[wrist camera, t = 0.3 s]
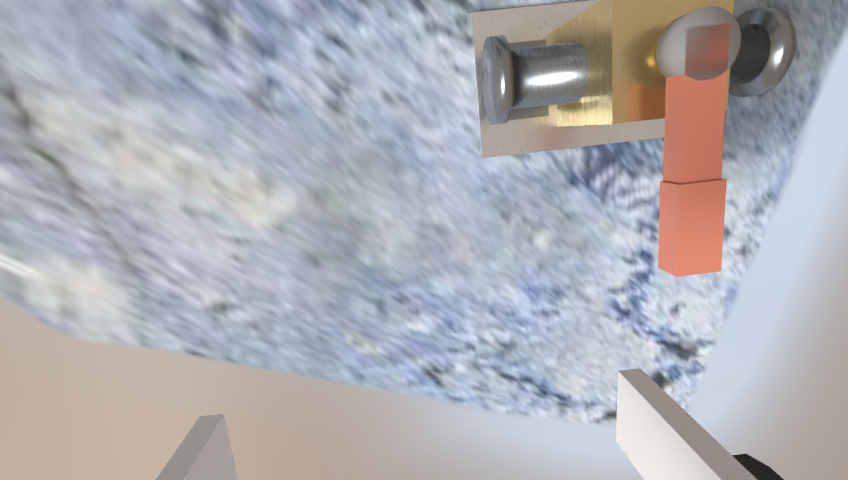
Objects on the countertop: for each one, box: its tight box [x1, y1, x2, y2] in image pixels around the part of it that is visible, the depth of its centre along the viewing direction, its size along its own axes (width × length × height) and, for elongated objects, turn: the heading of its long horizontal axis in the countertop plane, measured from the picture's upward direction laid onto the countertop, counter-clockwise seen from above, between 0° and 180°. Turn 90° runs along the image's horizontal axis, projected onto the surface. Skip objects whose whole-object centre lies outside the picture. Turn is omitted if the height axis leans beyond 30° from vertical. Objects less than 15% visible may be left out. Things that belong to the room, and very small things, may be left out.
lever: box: [656, 6, 741, 277], centre depth 27 cm, size 16×4×2 cm, turn 6°
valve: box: [470, 0, 796, 158], centre depth 33 cm, size 12×22×12 cm, turn 96°
